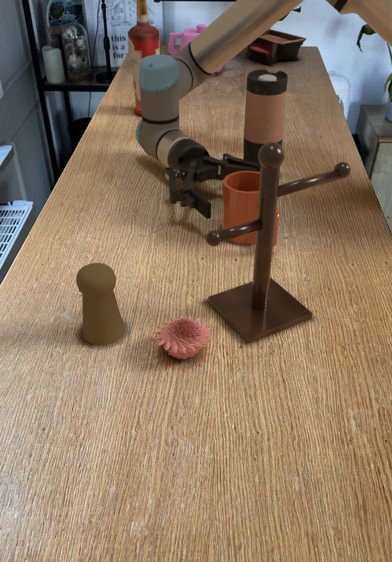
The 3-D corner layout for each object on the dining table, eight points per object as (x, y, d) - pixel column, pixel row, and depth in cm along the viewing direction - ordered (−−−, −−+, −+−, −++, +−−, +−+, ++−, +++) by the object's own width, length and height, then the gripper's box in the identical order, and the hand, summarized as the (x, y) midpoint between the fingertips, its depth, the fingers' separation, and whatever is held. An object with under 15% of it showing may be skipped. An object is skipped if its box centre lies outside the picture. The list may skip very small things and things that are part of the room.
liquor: (130, 111, 150) (120, -16, 132) (157, 107, 152) (151, -19, 134) (139, 121, 145) (129, -10, 126) (167, 117, 147) (161, -13, 128)
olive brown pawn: (123, 318, 86) (116, 254, 79) (127, 345, 82) (119, 279, 74) (82, 323, 85) (70, 258, 78) (83, 350, 81) (71, 284, 74)
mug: (213, 230, 105) (214, 177, 98) (251, 218, 108) (254, 166, 101) (253, 264, 97) (257, 209, 90) (293, 250, 100) (300, 196, 93)
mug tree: (306, 269, 95) (328, 109, 78) (351, 305, 88) (387, 136, 71) (187, 311, 87) (183, 142, 70) (226, 354, 80) (233, 177, 63)
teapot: (166, 78, 170) (164, 30, 161) (171, 65, 179) (169, 19, 171) (235, 79, 169) (237, 30, 160) (236, 66, 178) (238, 19, 169)
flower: (217, 339, 82) (218, 307, 79) (205, 378, 77) (205, 346, 73) (163, 331, 84) (161, 300, 80) (147, 369, 78) (144, 337, 74)
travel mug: (252, 189, 117) (259, 84, 104) (235, 173, 122) (239, 71, 109) (286, 181, 119) (296, 78, 106) (267, 167, 125) (275, 66, 111)
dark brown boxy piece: (275, 57, 192) (272, 23, 186) (312, 61, 179) (310, 24, 173) (239, 68, 187) (236, 33, 181) (275, 73, 174) (272, 36, 168)
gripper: (237, 162, 122) (299, 204, 108) (127, 190, 113) (179, 239, 99) (238, 125, 117) (304, 165, 103) (123, 152, 108) (178, 198, 94)
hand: (243, 201), depth 101 cm, fingers open, 13 cm apart
